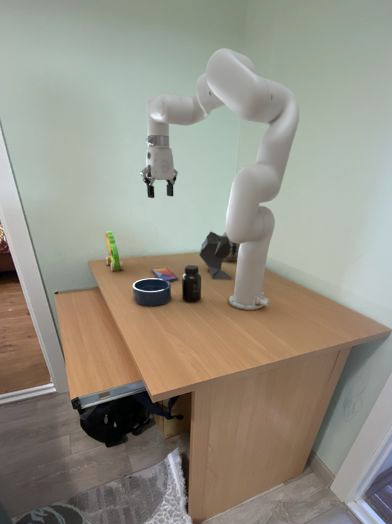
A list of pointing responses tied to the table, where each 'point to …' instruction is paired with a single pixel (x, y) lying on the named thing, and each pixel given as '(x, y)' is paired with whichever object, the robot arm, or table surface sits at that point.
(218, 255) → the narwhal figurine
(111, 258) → the green toy figure
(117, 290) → the table surface
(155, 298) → the bowl
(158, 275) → the smartphone
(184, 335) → the table surface
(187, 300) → the supplement bottle
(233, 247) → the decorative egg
